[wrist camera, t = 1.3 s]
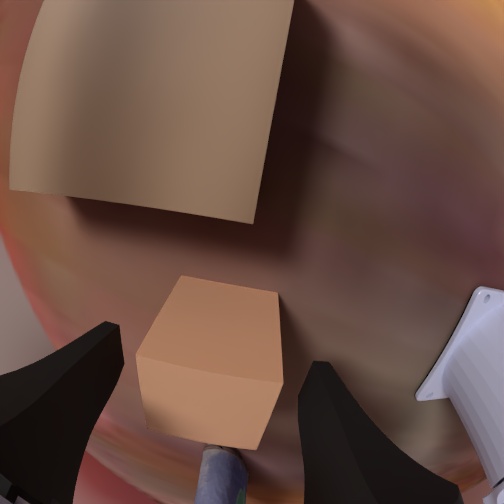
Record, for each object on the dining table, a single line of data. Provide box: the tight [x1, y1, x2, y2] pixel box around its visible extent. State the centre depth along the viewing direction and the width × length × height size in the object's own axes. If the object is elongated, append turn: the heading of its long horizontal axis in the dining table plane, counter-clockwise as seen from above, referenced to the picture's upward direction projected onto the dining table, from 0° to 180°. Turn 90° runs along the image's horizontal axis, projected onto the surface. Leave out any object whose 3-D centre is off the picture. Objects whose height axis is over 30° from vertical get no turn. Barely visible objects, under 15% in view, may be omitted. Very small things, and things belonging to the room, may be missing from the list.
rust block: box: [136, 275, 283, 450], centre depth 10 cm, size 4×4×5 cm
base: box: [10, 0, 294, 224], centre depth 7 cm, size 9×9×3 cm
